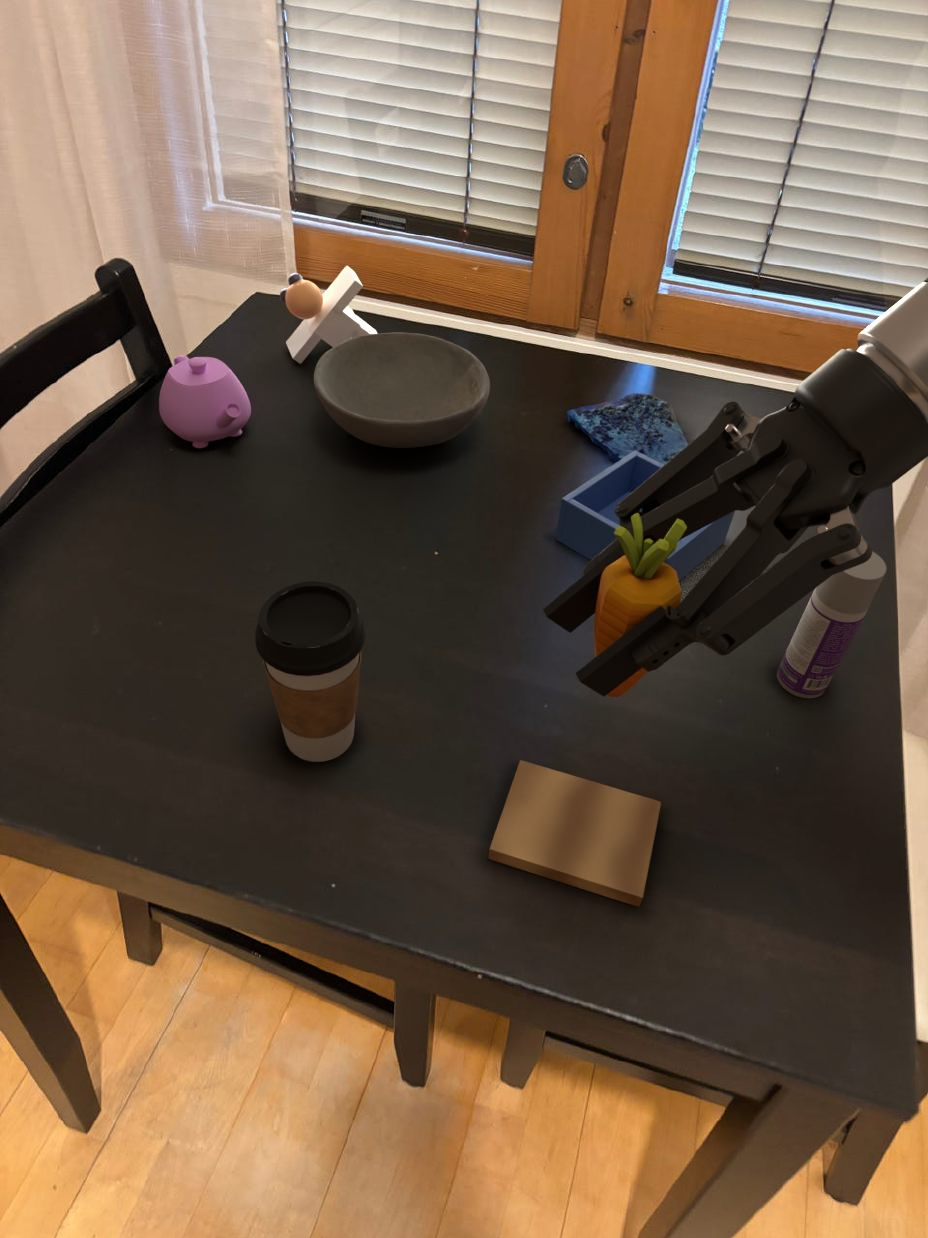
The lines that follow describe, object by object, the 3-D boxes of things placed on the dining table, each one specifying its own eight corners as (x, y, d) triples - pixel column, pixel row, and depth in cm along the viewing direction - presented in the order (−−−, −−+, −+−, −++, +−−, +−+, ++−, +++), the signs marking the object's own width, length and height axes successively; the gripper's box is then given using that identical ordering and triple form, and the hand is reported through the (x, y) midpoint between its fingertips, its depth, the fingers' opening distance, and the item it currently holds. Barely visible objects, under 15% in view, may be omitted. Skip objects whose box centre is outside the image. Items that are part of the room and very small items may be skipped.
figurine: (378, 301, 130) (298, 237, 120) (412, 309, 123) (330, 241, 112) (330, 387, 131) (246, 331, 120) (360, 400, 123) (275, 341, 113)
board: (657, 812, 73) (661, 801, 72) (639, 907, 67) (643, 898, 66) (518, 770, 75) (520, 759, 74) (487, 859, 69) (489, 849, 68)
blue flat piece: (659, 399, 120) (662, 386, 119) (717, 472, 109) (721, 459, 108) (559, 411, 117) (560, 398, 116) (607, 487, 106) (610, 474, 104)
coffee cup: (252, 757, 74) (230, 633, 64) (297, 687, 80) (283, 562, 70) (344, 787, 73) (336, 664, 62) (383, 712, 79) (381, 589, 68)
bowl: (485, 391, 119) (490, 336, 114) (485, 482, 105) (490, 424, 99) (329, 382, 119) (326, 326, 113) (306, 472, 104) (301, 412, 98)
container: (829, 672, 85) (891, 554, 75) (822, 705, 82) (885, 587, 72) (781, 656, 87) (835, 537, 76) (772, 687, 84) (827, 569, 73)
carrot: (566, 708, 59) (603, 534, 49) (588, 659, 62) (627, 486, 52) (638, 734, 58) (691, 560, 47) (656, 682, 61) (710, 510, 51)
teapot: (222, 394, 115) (211, 326, 109) (280, 448, 107) (273, 378, 101) (146, 417, 110) (130, 348, 104) (201, 476, 102) (188, 405, 96)
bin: (724, 542, 99) (738, 502, 95) (656, 600, 92) (668, 559, 88) (626, 489, 105) (635, 449, 101) (554, 538, 98) (561, 498, 94)
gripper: (1027, 526, 44) (664, 783, 52) (827, 354, 57) (555, 583, 64) (992, 449, 39) (596, 746, 47) (780, 279, 52) (492, 536, 59)
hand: (573, 651), depth 56 cm, fingers closed on carrot, 5 cm apart
